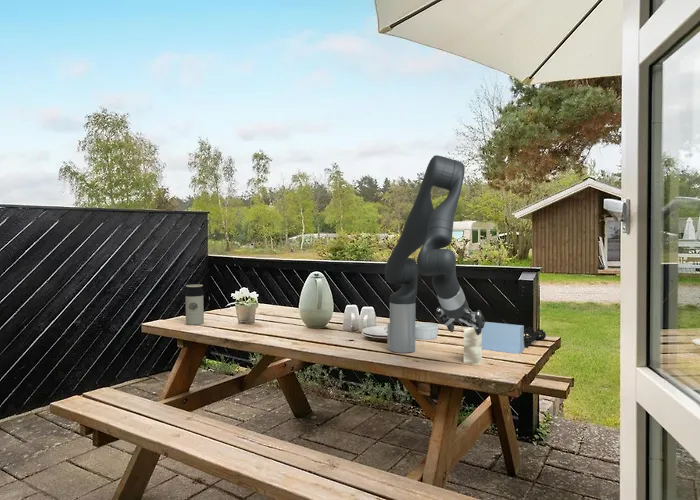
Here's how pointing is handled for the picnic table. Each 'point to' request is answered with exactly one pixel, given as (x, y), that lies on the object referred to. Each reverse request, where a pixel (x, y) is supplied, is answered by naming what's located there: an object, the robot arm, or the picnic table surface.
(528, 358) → the picnic table surface
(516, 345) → the light blue rectangular block
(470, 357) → the birch post
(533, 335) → the decorative element
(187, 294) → the travel mug
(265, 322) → the picnic table surface
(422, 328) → the ramekin
